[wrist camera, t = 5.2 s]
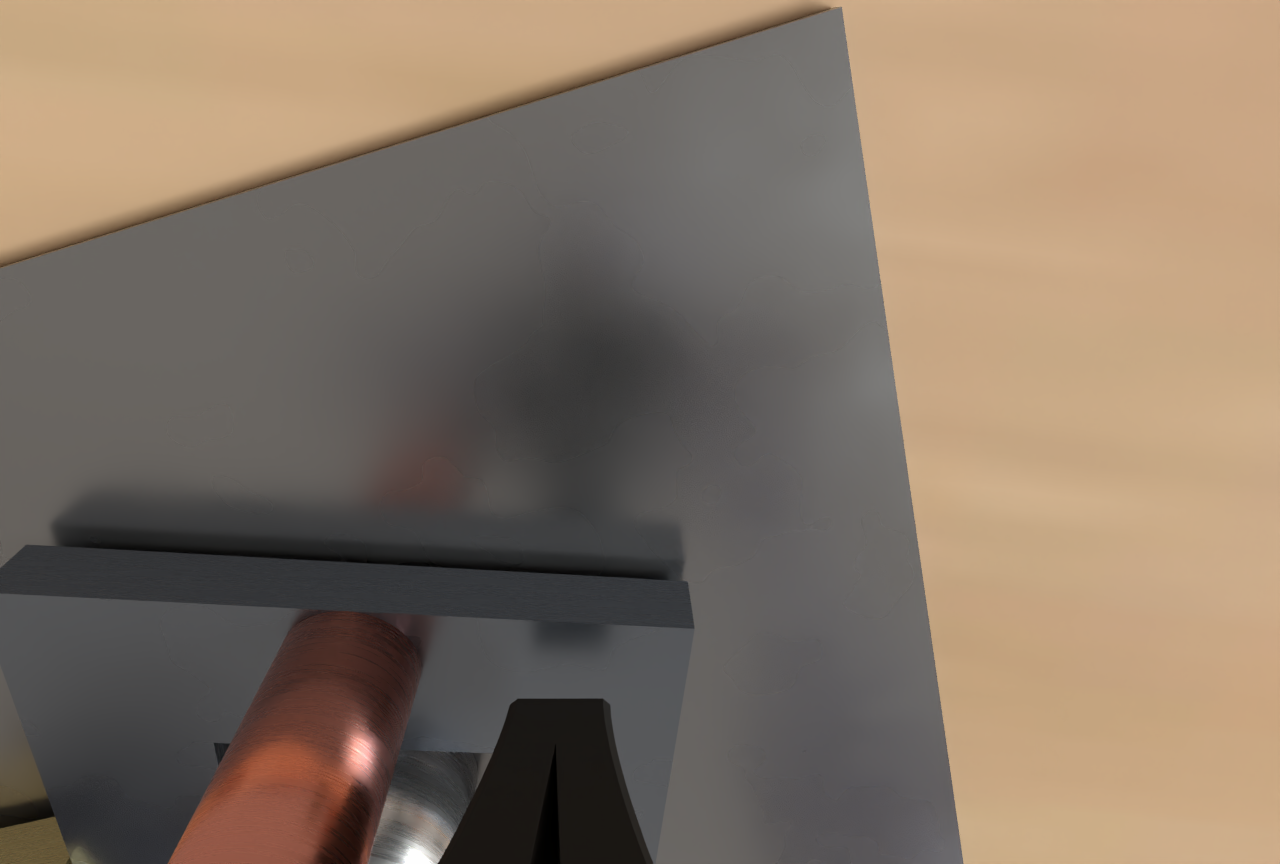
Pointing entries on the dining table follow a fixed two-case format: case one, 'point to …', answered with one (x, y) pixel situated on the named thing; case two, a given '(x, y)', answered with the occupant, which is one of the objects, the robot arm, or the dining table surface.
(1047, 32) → the dining table surface
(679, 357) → the post base
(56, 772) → the metal parts fixture
